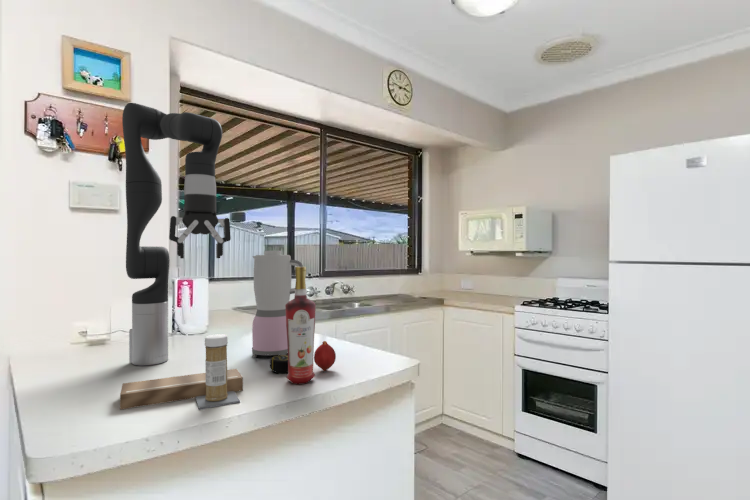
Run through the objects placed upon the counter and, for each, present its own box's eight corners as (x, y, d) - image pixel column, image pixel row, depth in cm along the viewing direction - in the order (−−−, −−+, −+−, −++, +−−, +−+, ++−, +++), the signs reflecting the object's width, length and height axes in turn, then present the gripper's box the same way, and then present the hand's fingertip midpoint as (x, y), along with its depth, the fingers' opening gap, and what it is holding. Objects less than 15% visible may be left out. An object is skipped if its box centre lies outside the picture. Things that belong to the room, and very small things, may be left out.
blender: (246, 359, 123) (245, 250, 123) (258, 349, 135) (258, 250, 135) (299, 359, 123) (299, 250, 123) (306, 349, 135) (306, 250, 135)
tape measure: (297, 374, 109) (297, 359, 109) (270, 376, 107) (270, 361, 107) (294, 367, 115) (294, 353, 115) (269, 369, 113) (269, 355, 113)
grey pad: (198, 409, 84) (198, 407, 84) (195, 398, 90) (195, 396, 90) (239, 402, 88) (239, 400, 88) (234, 392, 94) (234, 390, 94)
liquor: (314, 375, 107) (314, 266, 107) (317, 385, 99) (316, 267, 99) (285, 377, 105) (285, 266, 105) (285, 387, 98) (285, 267, 98)
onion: (314, 367, 114) (314, 338, 114) (335, 367, 114) (335, 338, 114) (313, 374, 108) (313, 343, 108) (335, 373, 109) (335, 342, 109)
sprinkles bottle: (228, 394, 92) (228, 333, 92) (226, 401, 88) (226, 337, 88) (206, 395, 91) (206, 334, 91) (203, 403, 87) (202, 338, 87)
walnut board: (120, 409, 84) (120, 394, 84) (122, 397, 91) (122, 383, 91) (242, 390, 96) (242, 376, 96) (236, 380, 103) (236, 368, 103)
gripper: (169, 190, 99) (169, 259, 99) (232, 194, 106) (232, 258, 106) (168, 194, 106) (168, 258, 106) (227, 197, 113) (227, 257, 113)
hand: (200, 258), depth 106 cm, fingers open, 8 cm apart
